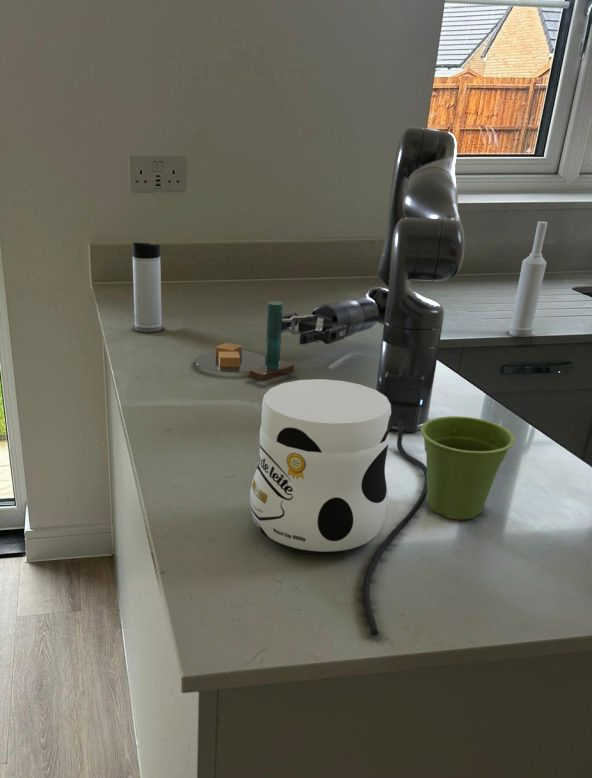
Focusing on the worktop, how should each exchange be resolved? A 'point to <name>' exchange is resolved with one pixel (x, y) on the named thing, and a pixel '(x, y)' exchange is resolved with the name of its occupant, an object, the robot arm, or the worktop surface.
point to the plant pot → (462, 463)
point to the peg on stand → (273, 347)
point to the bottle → (529, 287)
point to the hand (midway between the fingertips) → (284, 334)
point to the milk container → (321, 465)
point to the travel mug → (147, 287)
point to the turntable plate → (246, 364)
